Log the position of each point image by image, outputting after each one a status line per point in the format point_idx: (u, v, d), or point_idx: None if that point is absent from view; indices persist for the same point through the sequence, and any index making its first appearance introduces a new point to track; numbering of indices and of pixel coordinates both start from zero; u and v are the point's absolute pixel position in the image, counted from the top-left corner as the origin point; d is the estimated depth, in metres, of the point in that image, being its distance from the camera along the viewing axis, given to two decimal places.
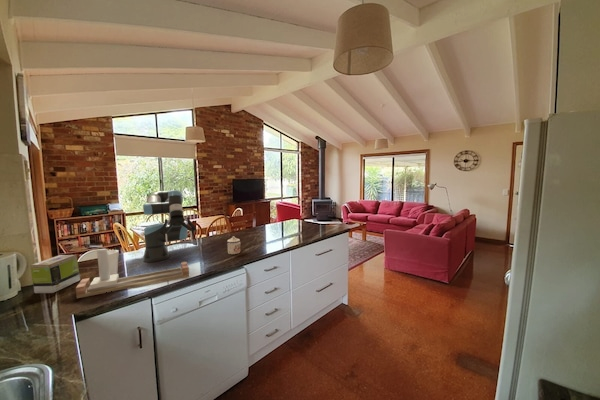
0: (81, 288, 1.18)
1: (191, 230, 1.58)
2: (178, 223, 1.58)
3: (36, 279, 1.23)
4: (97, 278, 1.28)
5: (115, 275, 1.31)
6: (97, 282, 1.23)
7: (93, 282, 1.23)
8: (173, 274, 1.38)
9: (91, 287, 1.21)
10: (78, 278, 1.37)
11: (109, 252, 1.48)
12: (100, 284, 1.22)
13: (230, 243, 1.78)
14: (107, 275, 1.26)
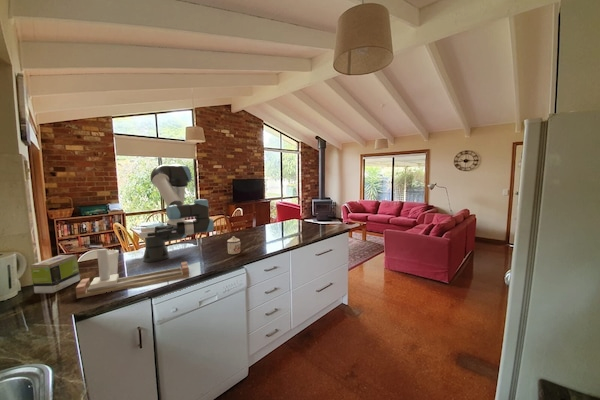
0: (81, 288, 1.18)
1: None
2: None
3: (36, 279, 1.23)
4: (97, 278, 1.28)
5: (115, 275, 1.31)
6: (97, 282, 1.23)
7: (93, 282, 1.23)
8: (173, 274, 1.38)
9: (91, 287, 1.21)
10: (78, 278, 1.37)
11: (109, 252, 1.48)
12: (100, 284, 1.22)
13: (230, 243, 1.78)
14: (107, 275, 1.26)
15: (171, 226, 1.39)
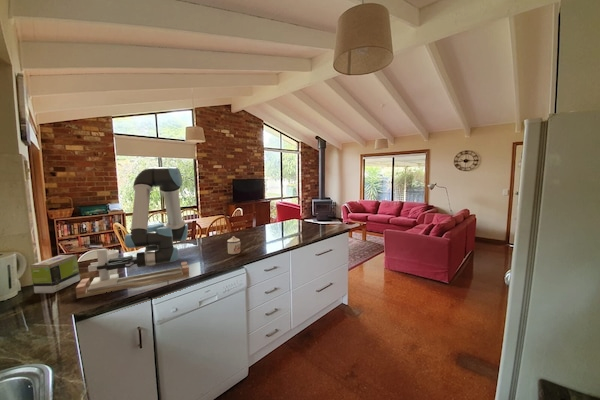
0: (81, 288, 1.18)
1: None
2: None
3: (36, 279, 1.23)
4: (97, 278, 1.28)
5: (115, 275, 1.31)
6: (97, 282, 1.23)
7: (93, 282, 1.23)
8: (173, 274, 1.38)
9: (91, 287, 1.21)
10: (78, 278, 1.37)
11: (109, 252, 1.48)
12: (100, 284, 1.22)
13: (230, 243, 1.78)
14: (107, 275, 1.26)
15: (130, 257, 1.31)
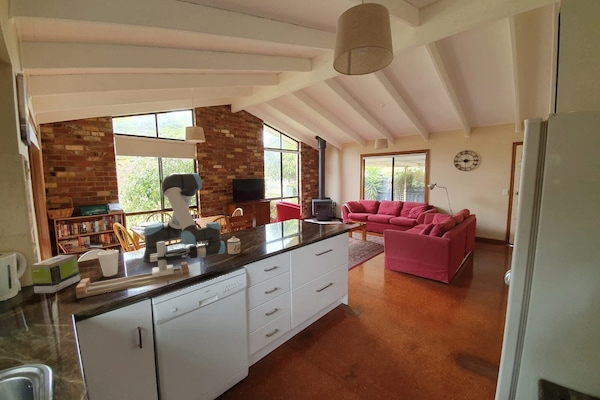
0: (81, 288, 1.18)
1: None
2: None
3: (36, 279, 1.23)
4: (155, 268, 1.40)
5: (170, 265, 1.44)
6: (157, 271, 1.35)
7: (154, 271, 1.35)
8: (173, 274, 1.38)
9: (153, 276, 1.33)
10: (78, 278, 1.37)
11: (109, 252, 1.48)
12: (160, 273, 1.34)
13: (230, 243, 1.78)
14: (165, 265, 1.38)
15: (184, 250, 1.43)
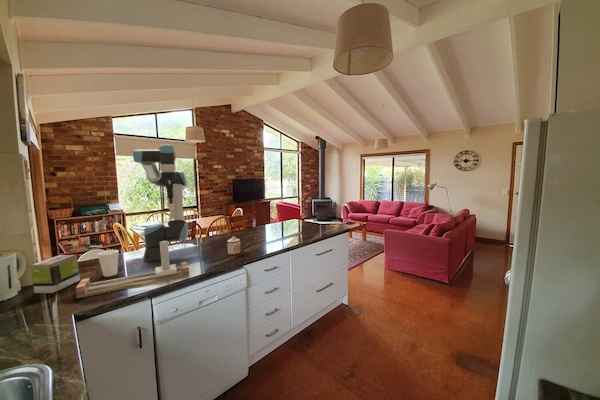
0: (81, 288, 1.18)
1: (168, 197, 1.42)
2: None
3: (36, 279, 1.23)
4: (158, 267, 1.41)
5: (173, 265, 1.44)
6: (160, 271, 1.36)
7: (157, 271, 1.36)
8: (173, 274, 1.38)
9: (156, 275, 1.34)
10: (78, 278, 1.37)
11: (109, 252, 1.48)
12: (164, 273, 1.35)
13: (230, 243, 1.78)
14: (168, 265, 1.39)
15: None
